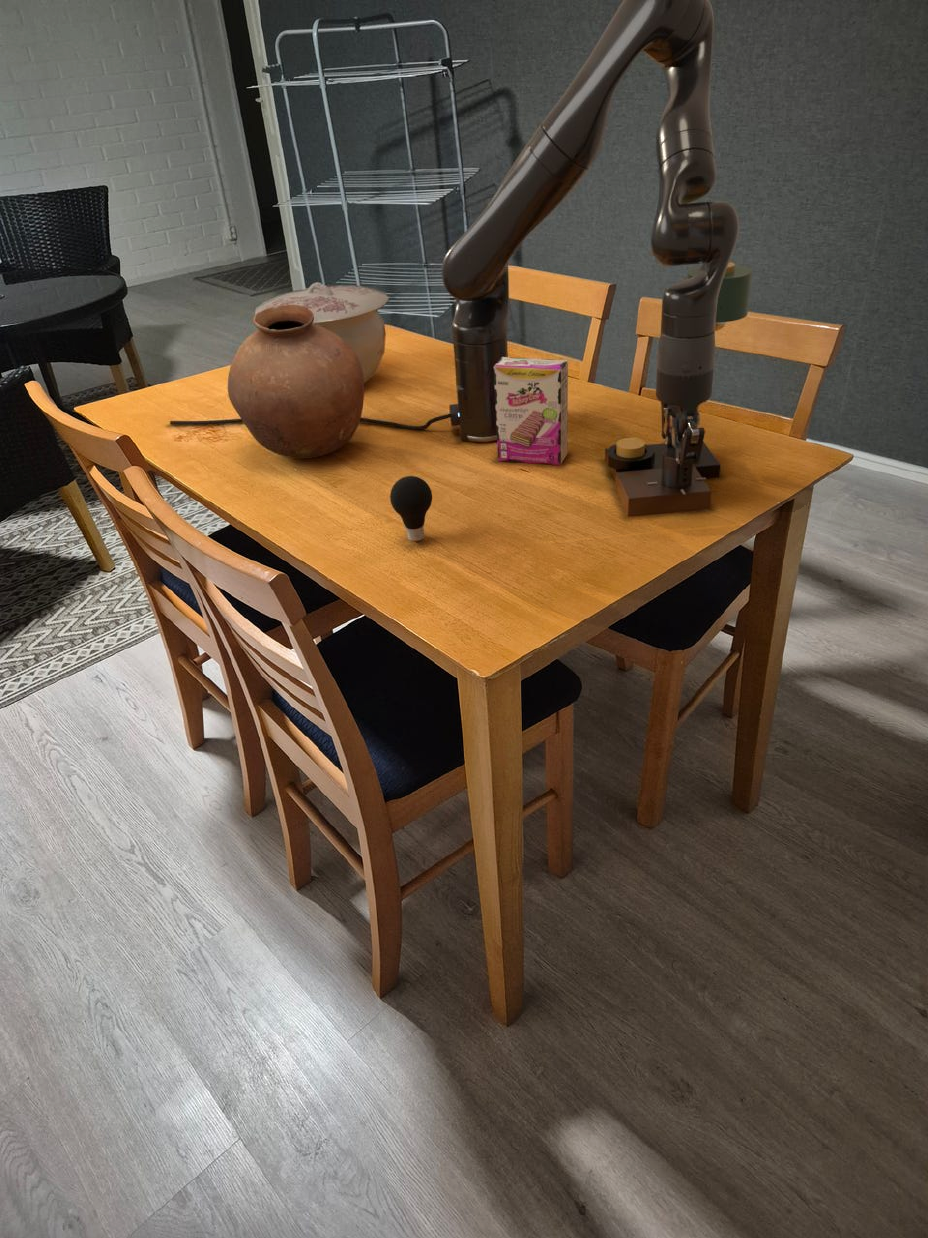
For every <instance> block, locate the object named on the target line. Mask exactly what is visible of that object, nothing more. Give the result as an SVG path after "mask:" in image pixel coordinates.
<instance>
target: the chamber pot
mask: <svg viewBox="0 0 928 1238" xmlns="http://www.w3.org/2000/svg"><path fill="white" fill-rule="evenodd" d="M388 301H389V296H388V294H387V293H386V292H385V291H382V290H380V289H378V288H375V287H369V286H363V285H356V284H355V285H354V284H351V285H350V284H337V285H336V284H335V285H333V284H332V285H325V284H323V283H321V282H314V283H311V284H310V286H309V287H307V288H302V289H297V290H296V289H295V290H292V291H289V292H285V293H282V294H279V295H277V296H274V297H273V298H270V299H268V300H266V301H264V302H262V303H260V304H259V305H258V306H257V307H256V308H255V310H254V316H255V315H256V314H257V313H258V312H260V311H262V310H264V309H267V308H269V307H276V306H279V305H291V304H295V305H300V306H304V307H307V308H309V309H310V310H311V311H312V312H313V313H314V321H313V323H312V324H315V325H318V326H321V327H323V328H325V329H327V330H329V331H331V332H333V333H335V334H336V335H338V336H339V337H341V338H342V339H343V340H344V341H345V342H347V343H348V344H349V346H350V347H351V348H352V349H353V350H354V352H355V353H356V355H357V356H358V358H359V361H360V364H361V368H362V373H363V381H364V384H366V383H367V382H368V381H371V379H372V378H373V377H374V376H375V374H376V372H377V371H378V368H379V365H380V364H381V361H382V359H383V357H384V354H385V352H386V351H385V349H386V339H387V338H386V336H387V333H386V326H385V321H384V318H383V317H382V315H381V314H380V312H379V311H378V309H380V308H382V307H384V306H385V304H386V303H387V302H388Z"/></svg>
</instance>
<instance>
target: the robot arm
mask: <svg viewBox="0 0 928 1238" xmlns="http://www.w3.org/2000/svg"><path fill="white" fill-rule="evenodd" d="M714 19H715V17H714V10H713V6H712V4H711V1H710V0H622V2H621V4H620V5H619V7H618V8H617V11H615V13H614V14H613V16H612V18H611V20H610V21H609V23H608V25H607V26H606V28H605V29H604V32H603V33H602V35H601V37H600V38H599V40H598V42H597V43H596V45H595V46H594V48H593V50H592V51H591V53H590V55H589V56H588V58H587V59H586V61H585V62H584V63H583V65H582V67H581V68H580V70H579V71H578V73H577V74H576V75H575V77H574V78H573V80H572V82H571V83H570V84H569V85H568V87H567V88H566V90H565V91H564V93H563V95H562V96H561V97H560V98H559V100H558V101H557V103H556V104H555V106H553V107H552V109H551V110H550V112H549V113H548V114H547V116H546V117H545V118H544V119H543V121H542V122H541V123H540V125H539V126H538V128H537V129H536V130H535V132H534V133H533V135H532V136H531V137H530V139H529V140H528V141H527V143H526V144H525V146H524V147H523V149H522V150H521V151H520V154H519V155H518V156H517V158H516V160H515V161H514V162H513V164H512V165H511V166H510V169H509V170H508V172H507V173H506V175H505V176H504V178H503V180H502V181H501V183H500V184H499V186H498V188H497V190H496V192H495V193H494V195H493V197H492V199H491V200H490V202H489V203H488V204H487V206H486V207H485V209H484V210H483V211H482V212H481V213H480V214H479V216H478V217H477V218H476V219H475V221H474V222H473V223H472V224H471V225H470V226H469V228H468V229H467V230H466V231H465V232H464V233H463V234H462V235H461V236H460V238H458V239H457V240H456V241H455V243H453V244H452V245H451V246H450V247H449V248H448V250H447V251H446V253H445V255H444V257H443V261H442V265H441V280H442V283H443V286H444V288H445V290H446V291H447V293H449V295H450V296H451V297H453V298H454V299H455V309H454V311H455V312H454V316H453V319H452V323H451V334H452V344H453V345H452V346H453V356H454V357H453V358H454V367H455V368H454V369H455V371H454V372H455V387H456V400H457V401H456V402H457V403H453V404H449V413H446V414H442V415H439V416H435V417H433V418H431V419H429V420H428V421H427V422H426V423H425V424H424V425H414V426H413V425H407V424H403V423H398V422H393V421H387V420H380V419H373V418H367V417H361V419H360V421H359V423H361V422H362V423H368V424H374V425H382V426H387V427H394V428H399V429H402V430H403V429H404V430H409V431H424V430H426V429H428V428H429V427H430V426H431V425H432V424H434V423H436V422H440V421H443V420H447V419H450V425H451V427H456V426H459V436H460V441H462V442H466V441H469V442H474V443H489V442H495V441H496V442H497V425H496V405H495V384H494V366H495V364H496V363H498V361H499V360H500V359H501V358H502V357H509V351H508V329H507V327H508V320H509V314H510V282H509V281H510V279H509V277H510V275H509V274H510V273H509V261H510V259H511V258H512V256H513V255H514V253H515V251H516V250H517V249H518V247H519V246H520V245H521V244H522V242H523V241H524V240H525V239H526V238H527V236H528V235H529V234H530V233H531V232H532V231H533V230H534V229H536V228H537V227H538V226H539V225H540V224H541V223H542V222H543V221H544V220H545V219H546V218H547V217H549V216H550V214H551V213H552V212H553V211H555V209H556V208H557V207H559V205H560V203H562V202H563V201H564V200H565V198H566V197H567V196H569V194H570V193H571V192H572V191H573V190H574V188H575V187H576V186H577V185H578V183H579V182H580V181H581V180H582V178H583V177H584V175H585V174H587V172H588V171H589V169H590V168H591V167H592V165H593V164H594V162H595V161H596V159H597V158H598V156H599V154H600V152H601V149H602V146H603V142H604V139H605V136H606V135H605V134H606V131H607V125H608V121H609V116H610V111H611V108H612V103H613V100H614V97H615V93H616V91H617V89H618V86H619V85H620V83H621V81H622V79H623V78H624V76H625V75H626V73H627V72H628V71H629V68H630V67H631V66H632V65H633V63H634V62H635V60H636V59H637V57H638V56H639V55H640V54H641V52H643V53H645V55H646V56H648V58H650V59H651V60H652V61H653V62H655V64H658V65H660V67H661V69H662V72H663V75H664V78H665V81H666V85H667V91H668V101H667V104H666V106H665V108H664V110H663V112H662V114H661V116H660V118H659V122H658V124H657V129H656V133H655V134H656V136H655V151H656V161H657V171H658V182H659V185H658V186H659V187H658V188H659V189H658V199H657V200H658V201H657V207H656V211H655V216H654V220H653V223H652V224H653V225H652V230H651V236H650V248H651V253H652V255H653V256H654V259H656V261H657V262H658V263H660V264H661V265H663V266H665V267H678V266H689V265H700V264H701V266H702V267H701V268H700V270H699V271H698V273H697V274H696V275H695V276H693V277H691V278H689V279H687V278H686V279H684V280H681V281H677V282H675V283H672V284H670V285H668V286H667V287H666V288H665V290H664V291H663V294H662V302H661V318H660V319H661V321H660V334H659V341H658V347H657V363H656V382H655V384H656V385H655V397H656V399H657V400H658V401H659V402H660V405H661V407H660V409H661V412H660V413H661V437H662V440H664V442H663V443H664V444H665V447H666V448H667V449H668V448H672V447H675V449H676V459H675V461H676V469H675V485H676V487H678V488H681V487H689V486H690V485H691V476H692V464H698V463H699V459H700V454H701V449H702V444H703V442H704V439H705V434H706V430H705V428H704V427H699V425H700V424H701V422H700V421H701V416H700V415H701V414H700V412H698V413H697V407H698V406H700V405H702V404H703V403H706V402H707V401H709V400H710V398H711V397H712V392H713V381H714V371H715V370H714V369H715V356H716V331H715V325H716V313H717V302H718V296H719V292H720V289H721V285H722V282H723V278H724V275H725V272H726V269H727V267H728V264H729V262H731V258H732V256H733V253H734V250H735V248H736V245H737V242H738V238H739V231H740V219H739V215H738V212H737V211H736V208H735V207H734V206H733V205H732V204H731V203H730V202H729V201H725V200H715V201H706V202H705V201H701V202H697V201H699V200H700V199H703V198H704V197H706V196H707V195H708V194H709V193H710V192H711V191H712V190H713V189H714V187H715V185H716V181H717V164H716V154H715V148H714V139H713V132H712V131H713V130H712V122H711V121H712V120H711V82H712V64H713V63H712V62H713V48H714V35H715V34H714V33H715V32H714V30H715V24H714V23H715V21H714ZM698 408H699V407H698ZM241 423H244V422H243V421H242V419H241V418H232V419H231V418H229V419H215V420H214V419H213V420H169V424H170V425H171V426H173V425H174V426H205V425H224V424H241ZM687 453H689V455H687Z"/></svg>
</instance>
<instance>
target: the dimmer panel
mask: <svg viewBox="0 0 928 1238" xmlns="http://www.w3.org/2000/svg"><path fill="white" fill-rule="evenodd" d="M661 479H662V468H660V469H650V470H639V471H628V472H617V473H616V483H615V492H616V495H617V497H618V499H619V500H620V503H621V505H622V507H623V509H624V511H625V514H626V516H627V518H629V517H641V516H652V515H661V514H662V515H663V514H672V513H673V514H674V513H684V512H695V511H705V510H707V511H708V510H710V509H711V498H712V490H711V489H710V486H709V485H708V484H707V482H706V481H705V480H707V479H706V478H702V477H701V475H700V474H699V472H698V471H697V469H696V468H695V466H694V465H693V476H692V483H691V485H690V486H689V487H681V488H674V487H669V486H666V485H664V484H663V483H662V481H661Z"/></svg>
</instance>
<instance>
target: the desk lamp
mask: <svg viewBox="0 0 928 1238" xmlns="http://www.w3.org/2000/svg"><path fill="white" fill-rule="evenodd" d="M701 267H702V265H698V266H695V267H691V268H690V269H688V270H687V273H686V279H689V278H691V277H693V276H695V275H696V274H697V273H698V271H699V270H700V268H701ZM752 278H753V269H752V268H751V267H748V266H745V265H741V264H736V263H734V262H731V261H729V264H728V267H727V269H726V272H725V275H724V278H723V282H722V285H721V289H720V292H719V296H718V302H717V313H716V325H715V332H717V331H720V330H722V329H723V328H724V327H725V325H726V324H727V323H729V322H736V321H739V320H742V319H744V318H746V317H747V316H748V313H749V305H750V298H751V297H750V295H751V288H752ZM699 406H700V405H699ZM699 406H698V407H697V413H699Z"/></svg>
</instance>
